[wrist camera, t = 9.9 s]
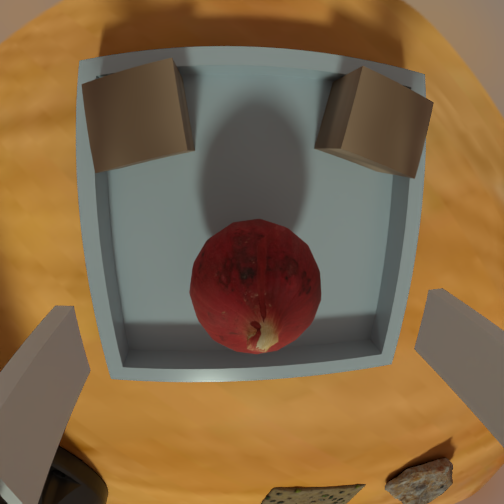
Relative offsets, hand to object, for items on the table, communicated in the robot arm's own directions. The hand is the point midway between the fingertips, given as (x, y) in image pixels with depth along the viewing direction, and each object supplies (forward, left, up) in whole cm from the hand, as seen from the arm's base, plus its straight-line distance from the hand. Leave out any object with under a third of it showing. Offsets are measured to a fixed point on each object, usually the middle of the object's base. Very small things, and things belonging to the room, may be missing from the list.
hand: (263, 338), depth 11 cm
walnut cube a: (-5, +8, -8) cm, 12 cm away
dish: (+1, +2, -8) cm, 9 cm away
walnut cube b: (+6, +8, -8) cm, 12 cm away
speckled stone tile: (+7, -32, -9) cm, 34 cm away
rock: (+22, -30, -9) cm, 39 cm away
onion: (0, 0, -8) cm, 8 cm away
